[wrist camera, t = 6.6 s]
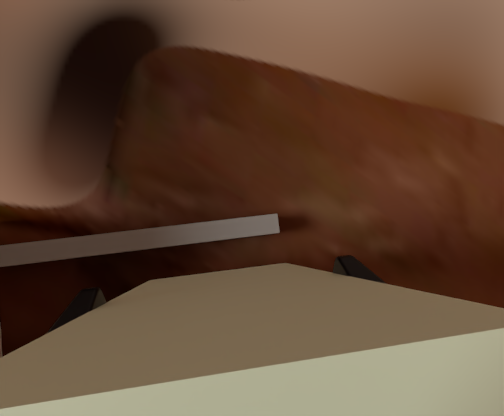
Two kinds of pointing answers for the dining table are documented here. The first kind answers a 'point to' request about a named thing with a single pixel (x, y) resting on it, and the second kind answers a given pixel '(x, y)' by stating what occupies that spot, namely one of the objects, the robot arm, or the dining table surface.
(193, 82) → the dining table surface
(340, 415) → the rectangular block
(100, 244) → the cabinet
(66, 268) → the dining table surface
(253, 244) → the dining table surface
